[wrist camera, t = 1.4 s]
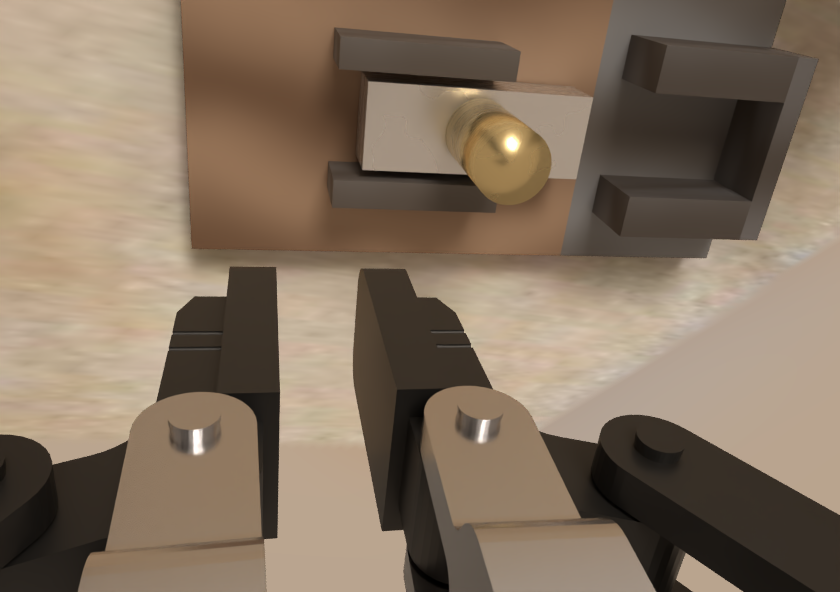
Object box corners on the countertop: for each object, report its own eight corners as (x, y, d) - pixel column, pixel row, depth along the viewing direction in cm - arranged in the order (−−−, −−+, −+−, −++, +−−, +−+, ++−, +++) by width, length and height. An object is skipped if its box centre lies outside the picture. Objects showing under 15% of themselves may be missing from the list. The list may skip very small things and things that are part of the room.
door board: (182, -77, 23) (166, -78, 20) (764, -11, 28) (839, -2, 24) (195, 233, 28) (184, 279, 24) (689, 245, 33) (741, 284, 29)
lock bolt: (361, 70, 25) (386, 109, 20) (571, 86, 27) (646, 125, 21) (356, 153, 26) (378, 210, 21) (556, 163, 28) (623, 218, 23)
